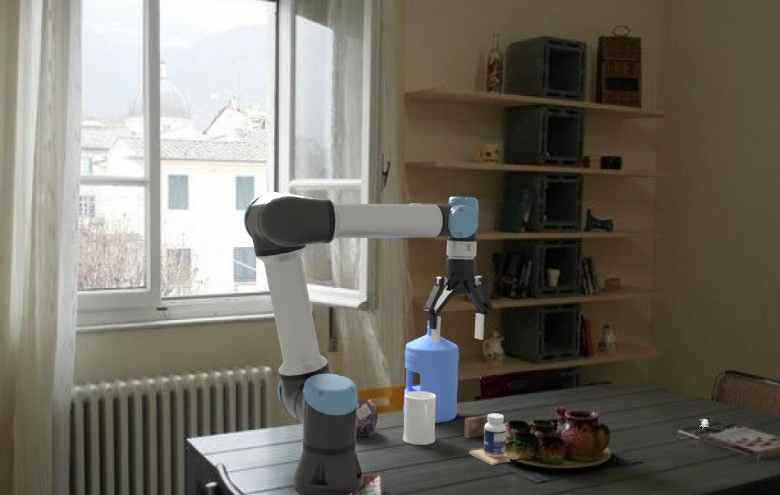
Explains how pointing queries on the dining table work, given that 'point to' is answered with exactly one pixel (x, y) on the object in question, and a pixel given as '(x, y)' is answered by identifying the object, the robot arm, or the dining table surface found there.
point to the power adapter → (704, 423)
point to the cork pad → (488, 457)
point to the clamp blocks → (476, 426)
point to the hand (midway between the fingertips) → (457, 340)
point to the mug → (419, 418)
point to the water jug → (434, 372)
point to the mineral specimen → (365, 418)
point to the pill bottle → (495, 436)
